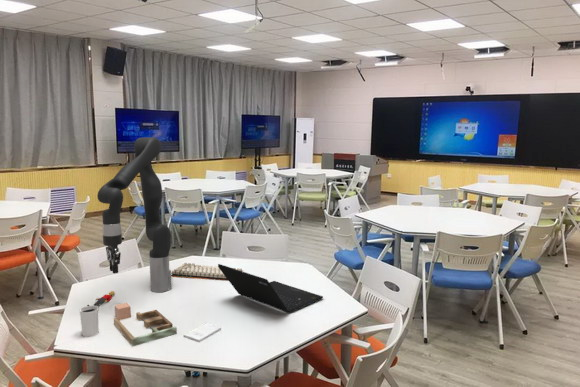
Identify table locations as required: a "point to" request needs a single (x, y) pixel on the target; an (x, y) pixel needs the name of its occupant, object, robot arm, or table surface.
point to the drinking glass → (89, 320)
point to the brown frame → (151, 320)
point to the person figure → (104, 298)
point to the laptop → (268, 290)
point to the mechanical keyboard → (199, 272)
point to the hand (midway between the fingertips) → (114, 271)
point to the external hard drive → (202, 332)
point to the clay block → (122, 311)
